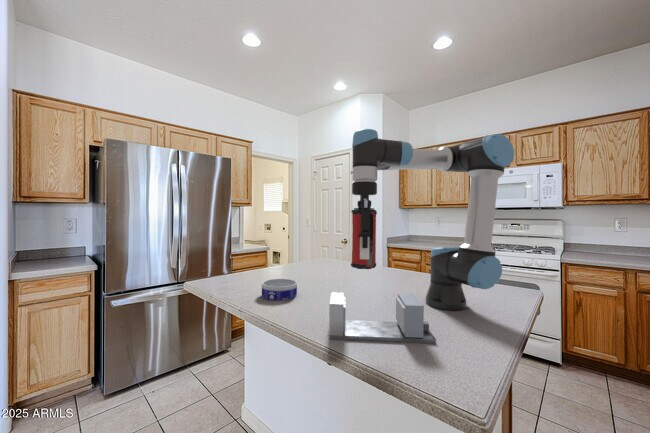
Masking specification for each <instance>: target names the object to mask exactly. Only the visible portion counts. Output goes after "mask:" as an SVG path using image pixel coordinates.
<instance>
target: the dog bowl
mask: <svg viewBox="0 0 650 433" xmlns="http://www.w3.org/2000/svg"><path fill="white" fill-rule="evenodd" d="M297 295H298V281H296V280H295V279H291V278H271V279H266V280H262V281H261V298H262V299H263V300H266V301H270V300H271V301H273V302H281V301H283V302H284V301H289V300H293V299H295V298H297Z"/></svg>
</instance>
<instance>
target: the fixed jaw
mask: <svg viewBox="0 0 650 433" xmlns="http://www.w3.org/2000/svg"><path fill="white" fill-rule="evenodd" d="M346 304H347V303H346V296H345V295H344V292H335V291H334V292H331V293H330V299H329V307H328V308H329V312H328V314H329V315H328V316H329V322H328V323H329V324H328V326H329V329H328V334H329V335H339V336H343V331H344V332H345V320H346V310H347V309H346ZM329 335H328V336H329Z"/></svg>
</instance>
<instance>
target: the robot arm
mask: <svg viewBox="0 0 650 433" xmlns="http://www.w3.org/2000/svg"><path fill="white" fill-rule="evenodd" d="M351 146H352V170H351V171H350V175H352V177H351V178H352V181H353V182H352V184H351V194H352V195H353V196H359V200H357V208H361V209H357V210H361V234H358V237H360V259H369V241H370V237H369V236H370V210H371V209H370V208H372V200H370V196H375V195H377V194H378V183H377V182H376V181H377V180H378V171H388V170H389V171H395V170H399V171H401V170H438V171H439V172H452V173H453V172H455V173H466V175H468V176H469V177H470V186H469V195H468V205H467V213H466V222H465V223H466V224H465V231H464V240H463V241H464V242H463V243H461V245H459V246H456V247H455V246H451V247H433V248H431V251H430V257H429V258H430V284H429V286H428V289H427V292H426V294H425V304H426V305H428V306H430V307H432V308H436V309H438V310H439V309H440V310H447V311H462V310H465V309H467V298H466V296H465V293H464V289H463V285H466V286H469V287H471V288H474V289H479V290H480V289H481V290H489V289H491V288H493V287H494V286H495V285H497V283H498V282H500V279H501V277H502V275H503V274H502V273H503V266H502V262H501V260H500V259H499V258H497V257H496V252H497V251H496V250H495V249H494V248H493V247H492V240H493V232H494V223H495V216H496V215H495V213H496V202H497V196H498V195H497V193H498V187H499V186H498V184H499V179H500V178H501V177H502V176H504V173H505V168H506V167H508V166H510V165H511V164H512V162H514V158H515V150H514V149H515V148H514V146H513V143H512V142H511V140H510V139H509V138H508V137H507V136H506V135H504V134H500V133H496V134H495V133H494V134H489V135H488V134H487V135H485V136H482V137H479V138H476V139H473V140H469V141H465V142H462V143H458V144H455V145H450V146H442V147H440V148H437V149H436V148H435V149H429V148H428V149H427V148H426V149H425V148H420V149H418V148H415V149H414V148H413V145H412V144H411V143H409V142H408V141H407V142H406V141H402V140H393V139H384V138H379V134H378V131H377V130H376V129H372V128H362V129H358V130H356V131H355V132H354V133H353V135H352V145H351Z"/></svg>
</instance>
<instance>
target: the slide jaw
mask: <svg viewBox="0 0 650 433" xmlns="http://www.w3.org/2000/svg"><path fill="white" fill-rule="evenodd" d="M424 307H425V306H424V305H423V302H421V301H420V299H419V298H418V297H417V296H416V294H415V293H403V292H402V293H400V292H399V293H397V296H396V298H395V320H396V322H398V324H399V326H400V328H401V330H402V332H403V333H404V336H405V337H416V338H423V331H429V330H430V323H429V322H428V321H425V319H424V315H425V311H424V310H425V308H424Z"/></svg>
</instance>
